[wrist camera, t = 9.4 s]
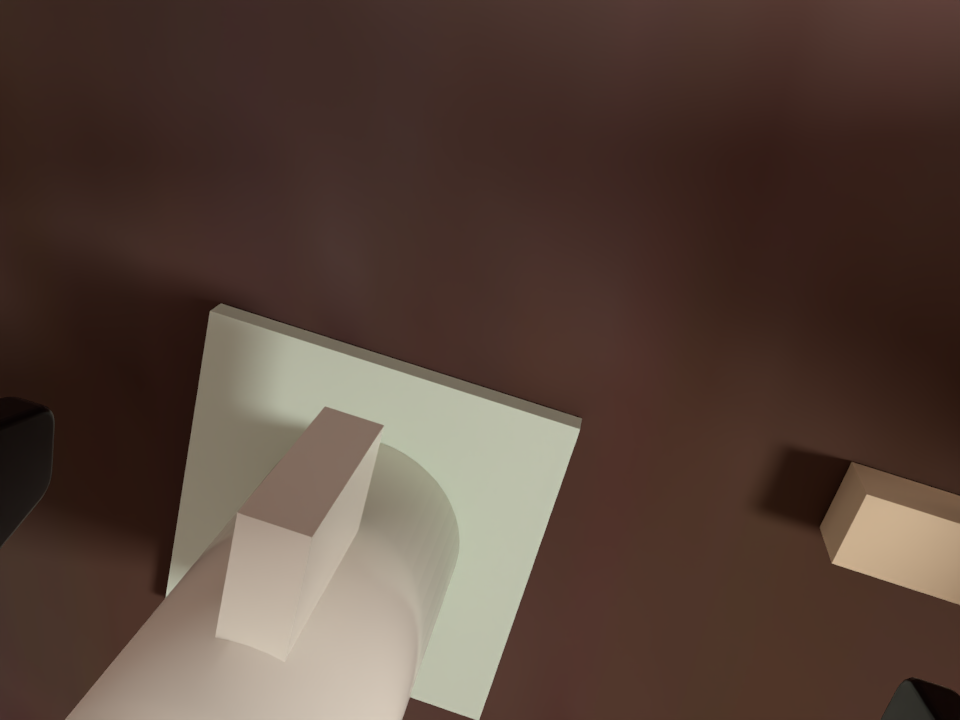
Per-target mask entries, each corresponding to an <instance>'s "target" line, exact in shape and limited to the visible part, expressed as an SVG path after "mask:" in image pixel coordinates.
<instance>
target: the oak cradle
mask: <svg viewBox="0 0 960 720" xmlns="http://www.w3.org/2000/svg"><path fill="white" fill-rule="evenodd" d="M820 530H821V533H822V536H823V539H824V542H825V545H826V548H827V551H828V554H829V556H830V559H831V562H832V564H836V565H839V566H842V567H845V568H848V569H851V570H854V571H857V572H860V573H863V574H866V575H870V576H873V577H876V578H879V579H882V580H885V581H888V582H891V583H894V584H897V585H900V586H904V587H907V588H910V589H913V590H916V591H919V592H922V593H925V594H928V595H931V596H934V597H938V598H941V599H944V600H947V601H950V602H953V603H956V604H959V605H960V496H959V495H955V494H952V493H949V492H946V491H943V490H940V489H936V488H933V487H930V486H927V485H924V484H921V483H917V482H914V481H911V480H908V479H905V478H902V477H898V476H895V475H892V474H889V473H886V472H883V471H879V470H876V469H873V468H870V467H867V466H864V465H860V464H857V463H854V462H851V464H850V466H849V468H848V470H847V473H846V475H845V477H844V479H843V481H842V483H841V485H840V487H839V489H838V491H837V493H836V495H835V497H834V499H833V501H832V503H831V505H830V507H829V509H828V511H827V513H826V515H825V517H824V519H823V521H822V523H821V526H820Z"/></svg>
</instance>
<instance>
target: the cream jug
mask: <svg viewBox="0 0 960 720" xmlns="http://www.w3.org/2000/svg"><path fill="white" fill-rule="evenodd" d="M383 428H384V425H382V424H379V423H376V422H372V421H369V420H366V419H363V418H360V417H357V416H354V415H351V414H348V413H344V412H341V411H338V410H335V409H332V408H329V407H326V406H325V407H324V408H323V409H322V411H321V412H320V413H319V414H318V415H317V417H316V418H315V419H314V420H313V421H312V423H311V424H310V425H309V426H308V428H307V429H306V430H305V431H304V432H303V434H302V435H301V436H300V437H299V438H298V440H297V441H296V442H295V443H294V445H293V446H292V447H291V448H290V449H289V451H288V452H287V453H286V454H285V455H284V457H283V458H282V459H281V460H280V461H279V462H278V463H277V464H276V465H275V466H274V468H273V469H272V470H271V471H270V472H269V474H268V475H267V476H266V477H265V478H264V480H263V481H262V482H261V483H260V484H259V486H258V487H257V488H256V489H255V490H254V492H253V493H252V494H251V495H250V497H249V498H248V499H247V500H246V501H245V503H244V504H243V505H242V506H241V507H240V509H239V510H238V511H237V512H236V513H235V515H234V516H233V517H232V518H231V520H230V521H229V522H228V523H227V524H226V526H225V527H224V528H223V529H222V530H221V532H220V533H219V534H218V535H217V536H216V538H215V539H214V540H213V541H212V543H211V544H210V545H209V546H208V547H207V549H206V550H205V551H204V552H203V553H202V555H201V556H200V557H199V558H198V559H197V561H196V562H195V563H194V564H193V565H192V567H191V568H190V569H189V570H188V572H187V573H186V574H185V575H184V576H183V578H182V579H181V580H180V581H179V582H178V584H177V585H176V586H175V587H174V588H173V590H172V591H171V592H170V593H169V595H168V596H167V597H166V598H165V599H164V601H163V602H162V603H161V604H160V605H159V607H158V608H157V609H156V610H155V611H154V613H153V614H152V615H151V616H150V618H149V619H148V620H147V621H146V622H145V624H144V625H143V626H142V627H141V628H140V630H139V631H138V632H137V633H136V634H135V636H134V637H133V638H132V639H131V641H130V642H129V643H128V644H127V645H126V647H125V648H124V649H123V650H122V651H121V653H120V654H119V655H118V656H117V657H116V659H115V660H114V661H113V662H112V663H111V665H110V666H109V667H108V668H107V670H106V671H105V672H104V673H103V674H102V676H101V677H100V678H99V679H98V680H97V682H96V683H95V684H94V685H93V686H92V688H91V689H90V690H89V691H88V693H87V694H86V695H85V696H84V697H83V699H82V700H81V701H80V702H79V703H78V705H77V706H76V707H75V708H74V709H73V711H72V712H71V713H70V714H69V716H68V717H67V718H66V719H65V720H402V718H403V715H404V712H405V710H406V707H407V704H408V701H409V698H410V695H411V692H412V690H413V687H414V684H415V681H416V678H417V675H418V672H419V670H420V667H421V664H422V661H423V658H424V655H425V652H426V650H427V647H428V644H429V641H430V638H431V635H432V632H433V629H434V627H435V624H436V621H437V618H438V615H439V612H440V609H441V607H442V604H443V601H444V598H445V595H446V592H447V589H448V587H449V584H450V581H451V578H452V575H453V572H454V569H455V567H456V564H457V559H458V554H459V543H460V539H459V528H458V524H457V520H456V516H455V513H454V511H453V508H452V505H451V503H450V501H449V500H448V498H447V496H446V494H445V492H444V491H443V490H442V488H441V487H440V485H439V484H438V483H437V481H436V480H435V479H434V478H433V477H432V476H431V475H430V474H429V473H428V471H426V470H425V469H424V468H423V467H422V466H421V465H419V464H418V463H417V462H416V461H414V460H413V459H411V458H410V457H408V456H407V455H405V454H404V453H402V452H400V451H398V450H396V449H394V448H392V447H390V446H387V445H385V444H382V443H380V440H381V436H382V432H383Z"/></svg>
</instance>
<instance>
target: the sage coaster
mask: <svg viewBox="0 0 960 720" xmlns="http://www.w3.org/2000/svg"><path fill="white" fill-rule="evenodd" d="M325 406H326V407H329V408H332V409H335V410H338V411H341V412H344V413H348V414H351V415H354V416H357V417H360V418H363V419H366V420H369V421H372V422H376V423H379V424H382V425H384V428H383V432H382V436H381V440H380V443H382V444H385V445H387V446H390V447H392V448H394V449H396V450H398V451H400V452H402V453H404V454H405V455H407V456H408V457H410V458H411V459H413V460H414V461H416V462H417V463H418V464H419V465H421V466H422V467H423V468H424V469H425V470H426V471H428V473H429V474H430V475H431V476H432V477H433V478H434V479H435V480H436V481H437V483H438V484H439V485H440V487H441V488H442V490H443V491H444V492H445V494H446V496H447V498H448V500H449V501H450V503H451V505H452V508H453V511H454V513H455V516H456V520H457V524H458V528H459V539H460V543H459V554H458V559H457V564H456V567H455V569H454V572H453V575H452V578H451V581H450V584H449V587H448V589H447V592H446V595H445V598H444V601H443V604H442V607H441V609H440V612H439V615H438V618H437V621H436V624H435V627H434V629H433V632H432V635H431V638H430V641H429V644H428V647H427V650H426V652H425V655H424V658H423V661H422V664H421V667H420V670H419V672H418V675H417V678H416V681H415V684H414V687H413V690H412V692H411V695H410V697H411V698H414V699H417V700H420V701H423V702H426V703H429V704H432V705H435V706H437V707H440V708H443V709H446V710H449V711H452V712H455V713H458V714H461V715H464V716H467V717H469V718H472V719H475V720H479V719H480V716H481V713H482V710H483V707H484V704H485V701H486V699H487V696H488V693H489V690H490V687H491V684H492V681H493V678H494V676H495V673H496V670H497V667H498V664H499V661H500V658H501V655H502V653H503V650H504V647H505V644H506V641H507V638H508V635H509V632H510V630H511V627H512V624H513V621H514V618H515V615H516V612H517V609H518V607H519V604H520V601H521V598H522V595H523V592H524V589H525V586H526V584H527V581H528V578H529V575H530V572H531V569H532V566H533V563H534V561H535V558H536V555H537V552H538V549H539V546H540V543H541V540H542V538H543V535H544V532H545V529H546V526H547V523H548V520H549V517H550V515H551V512H552V509H553V506H554V503H555V500H556V497H557V494H558V492H559V489H560V486H561V483H562V480H563V477H564V474H565V471H566V469H567V466H568V463H569V460H570V457H571V454H572V451H573V448H574V446H575V443H576V440H577V437H578V434H579V431H580V427H581V421H582V418H579V417H576V416H573V415H570V414H566V413H563V412H560V411H557V410H554V409H551V408H548V407H544V406H541V405H538V404H535V403H532V402H529V401H526V400H523V399H519V398H516V397H513V396H510V395H507V394H504V393H501V392H497V391H494V390H491V389H488V388H485V387H482V386H479V385H475V384H472V383H469V382H466V381H463V380H460V379H457V378H454V377H450V376H447V375H444V374H441V373H438V372H435V371H432V370H428V369H425V368H422V367H419V366H416V365H413V364H410V363H407V362H403V361H400V360H397V359H394V358H391V357H388V356H385V355H381V354H378V353H375V352H372V351H369V350H366V349H363V348H359V347H356V346H353V345H350V344H347V343H344V342H341V341H338V340H334V339H331V338H328V337H325V336H322V335H319V334H316V333H312V332H309V331H306V330H303V329H300V328H297V327H294V326H290V325H287V324H284V323H281V322H278V321H275V320H272V319H269V318H265V317H262V316H259V315H256V314H253V313H250V312H247V311H243V310H240V309H237V308H234V307H231V306H228V305H225V304H219V305H218V306H216V307H215V308H213V309H212V310H210V313H209V320H208V326H207V333H206V339H205V346H204V352H203V359H202V365H201V372H200V378H199V384H198V391H197V397H196V404H195V410H194V417H193V423H192V430H191V436H190V443H189V449H188V456H187V462H186V468H185V475H184V481H183V488H182V494H181V501H180V507H179V514H178V520H177V527H176V533H175V540H174V546H173V552H172V559H171V565H170V572H169V578H168V585H167V591H166V597H167V596H168V595H169V593H170V592H171V591H172V590H173V588H174V587H175V586H176V585H177V584H178V582H179V581H180V580H181V579H182V578H183V576H184V575H185V574H186V573H187V572H188V570H189V569H190V568H191V567H192V565H193V564H194V563H195V562H196V561H197V559H198V558H199V557H200V556H201V555H202V553H203V552H204V551H205V550H206V549H207V547H208V546H209V545H210V544H211V543H212V541H213V540H214V539H215V538H216V536H217V535H218V534H219V533H220V532H221V530H222V529H223V528H224V527H225V526H226V524H227V523H228V522H229V521H230V520H231V518H232V517H233V516H234V515H235V513H236V512H237V511H238V510H239V509H240V507H241V506H242V505H243V504H244V503H245V501H246V500H247V499H248V498H249V497H250V495H251V494H252V493H253V492H254V490H255V489H256V488H257V487H258V486H259V484H260V483H261V482H262V481H263V480H264V478H265V477H266V476H267V475H268V474H269V472H270V471H271V470H272V469H273V468H274V466H275V465H276V464H277V463H278V462H279V461H280V460H281V459H282V458H283V457H284V455H285V454H286V453H287V452H288V451H289V449H290V448H291V447H292V446H293V445H294V443H295V442H296V441H297V440H298V438H299V437H300V436H301V435H302V434H303V432H304V431H305V430H306V429H307V428H308V426H309V425H310V424H311V423H312V421H313V420H314V419H315V418H316V417H317V415H318V414H319V413H320V412H321V411H322V409H323V408H324V407H325Z"/></svg>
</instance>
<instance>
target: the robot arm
mask: <svg viewBox="0 0 960 720" xmlns="http://www.w3.org/2000/svg"><path fill="white" fill-rule="evenodd" d="M54 425H55V424H54V416H53V413H52V412H51V410H50V409H49V408H48V407H46V406H44V405H41V404H37V403H34V402H31V401H28V400H25V399H21V398H18V397H5V398H0V549H1V547H2V546H3V545H4V544H5V542H6V541H7V540H8V539H9V538H10V536H11V535H12V534H13V533H14V532H15V530H16V529H17V528H18V527H19V525H20V524H21V523H22V522H23V521H24V519H25V518H26V517H27V516H28V515H29V513H30V512H31V511H32V510H33V508H34V507H35V506H36V505H37V504H38V502H39V501H40V500H41V499H42V497H43V496H44V494H45V492H46V491H47V489H48V486H49V484H50V480H51V476H52V464H53V444H54ZM881 720H960V696H959V695H958V694H957V693H956V692H955V691H953V690H951V689H949V688H947V687H944V686H941V685H938V684H935V683H931V682H928V681H925V680H922V679H918V678H914V677H912V678H908V679H905V680H904V681H903V682H902V683H901V684H900V685H899V687H898V688H897V690H896V692H895V693H894V695H893V697H892V699H891V701H890V703H889V705H888V707H887V708H886V710H885V712H884V714H883V716H882V718H881Z"/></svg>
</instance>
